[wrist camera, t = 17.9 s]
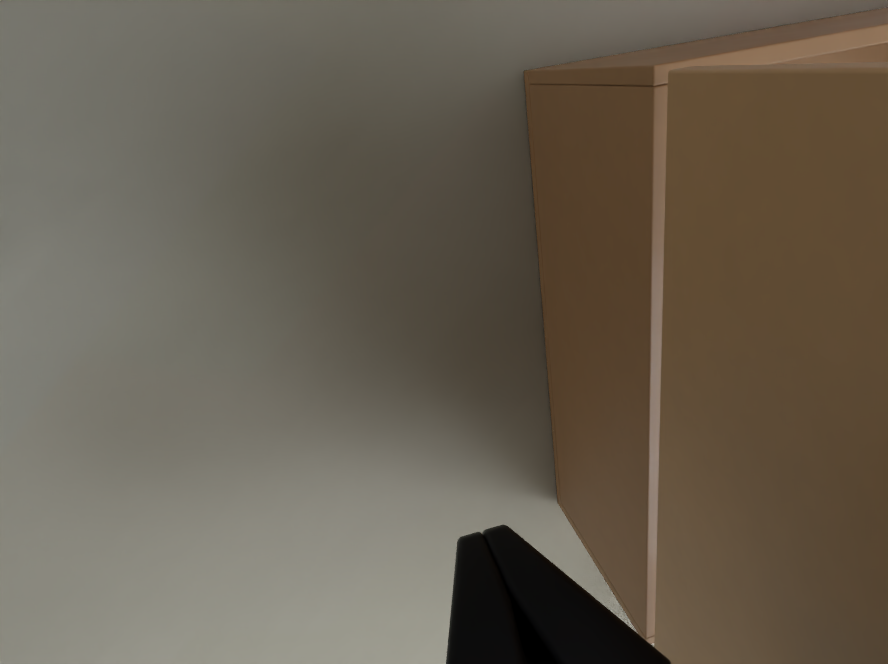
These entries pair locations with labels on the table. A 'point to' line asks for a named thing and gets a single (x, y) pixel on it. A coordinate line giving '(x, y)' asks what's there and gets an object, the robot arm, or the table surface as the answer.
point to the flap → (774, 366)
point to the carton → (627, 271)
